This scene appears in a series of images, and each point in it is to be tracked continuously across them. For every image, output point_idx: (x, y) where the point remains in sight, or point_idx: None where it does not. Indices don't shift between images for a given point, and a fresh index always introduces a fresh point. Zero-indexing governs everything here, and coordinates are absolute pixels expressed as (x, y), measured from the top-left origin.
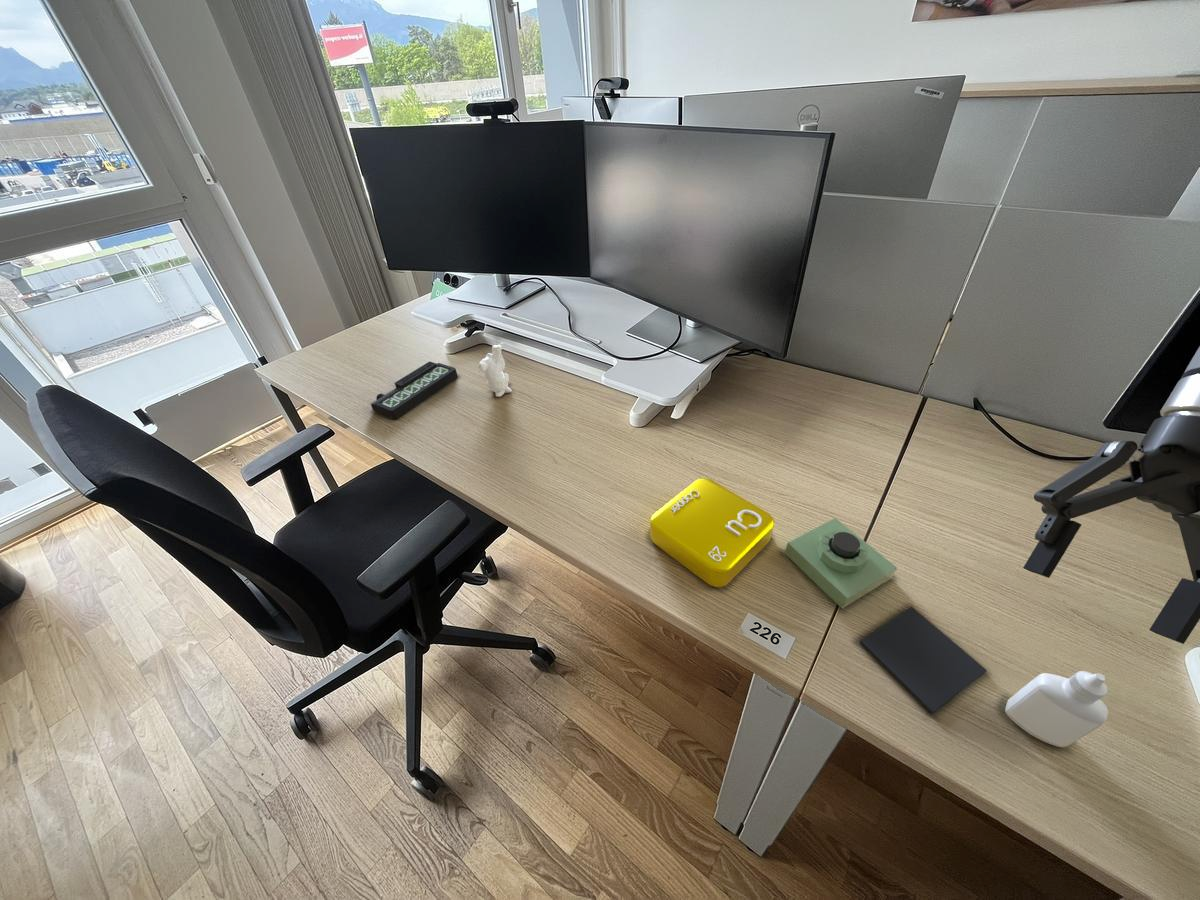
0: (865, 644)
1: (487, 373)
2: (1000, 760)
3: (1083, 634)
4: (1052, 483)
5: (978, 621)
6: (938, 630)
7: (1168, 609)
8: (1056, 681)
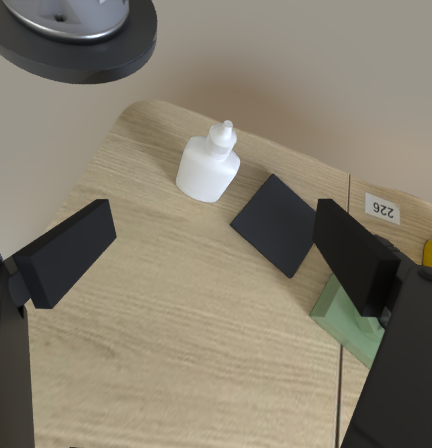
0: None
1: None
2: None
3: (114, 314)
4: None
5: (227, 287)
6: (269, 255)
7: (93, 251)
8: (230, 160)
